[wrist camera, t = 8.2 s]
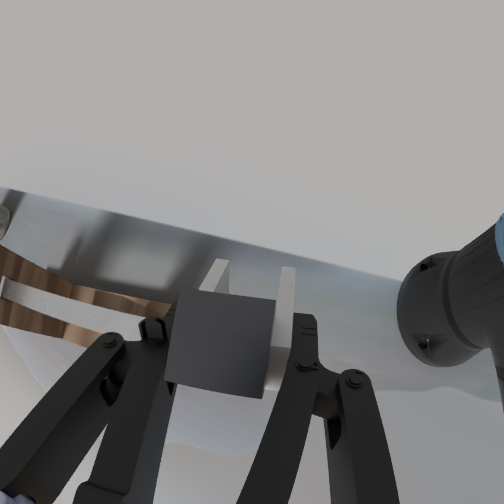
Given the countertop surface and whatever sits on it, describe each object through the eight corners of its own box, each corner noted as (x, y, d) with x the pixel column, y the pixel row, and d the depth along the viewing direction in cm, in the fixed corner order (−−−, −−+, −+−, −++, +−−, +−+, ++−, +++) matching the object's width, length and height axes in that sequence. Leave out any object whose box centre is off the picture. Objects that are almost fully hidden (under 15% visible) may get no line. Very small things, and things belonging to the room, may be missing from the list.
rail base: (214, 313, 35) (155, 264, 17) (204, 377, 32) (130, 394, 14) (42, 277, 38) (-43, 230, 20) (31, 324, 35) (-60, 293, 18)
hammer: (274, 334, 21) (275, 300, 9) (268, 374, 20) (261, 399, 8) (18, 279, 24) (-68, 233, 12) (12, 305, 23) (-78, 266, 11)
